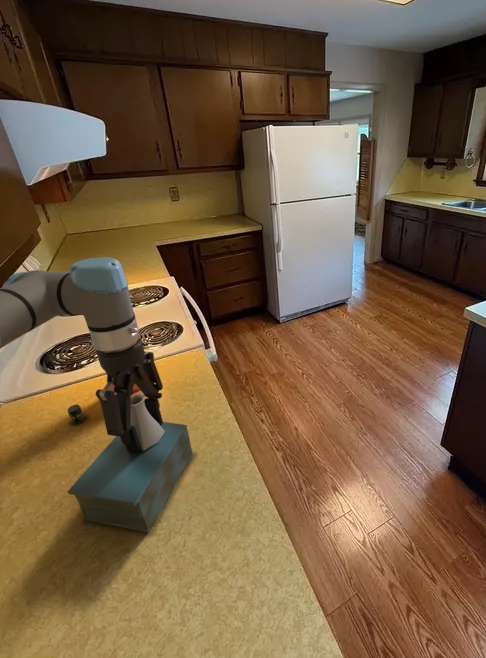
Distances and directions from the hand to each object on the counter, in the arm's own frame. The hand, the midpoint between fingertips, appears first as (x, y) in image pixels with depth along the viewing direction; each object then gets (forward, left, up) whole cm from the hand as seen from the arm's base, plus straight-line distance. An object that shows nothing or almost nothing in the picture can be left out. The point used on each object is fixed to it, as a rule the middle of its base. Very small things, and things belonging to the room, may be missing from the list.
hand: (146, 436), depth 69 cm
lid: (0, -4, -1) cm, 5 cm away
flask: (0, 0, 0) cm, 0 cm away
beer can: (-29, +10, -10) cm, 32 cm away
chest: (0, -4, -10) cm, 11 cm away
